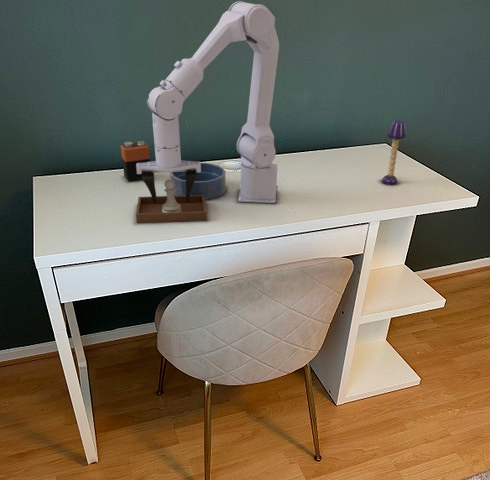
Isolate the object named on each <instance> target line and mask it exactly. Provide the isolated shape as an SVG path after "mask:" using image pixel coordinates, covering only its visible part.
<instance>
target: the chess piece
mask: <svg viewBox="0 0 490 480" xmlns="http://www.w3.org/2000/svg"><path fill="white" fill-rule="evenodd" d="M164 187H165V188H164V190H163V191H164V192H165V193H166V196H167V201H166V203H165V204H164V205H163V206H162V207H163V209H162V211H163V213H168V212H181V210H182V209H181V208H180V207H181V205H180V204H178V203H177V202H176V200H175V196H176V195H175V191H176V189H175V181H174V180H171V178H170V179H166V180H165V182H164Z"/></svg>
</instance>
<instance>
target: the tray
mask: <svg viewBox="0 0 490 480" xmlns="http://www.w3.org/2000/svg"><path fill="white" fill-rule="evenodd" d="M156 197H157V202H156V203H153V199H152V196H151V195H150V196H138V199H137V205H136V212H135V219H136V223H137V224H151V223H153V224H154V223H173V222H174V223H177V222H179V223H180V222H181V223H182V222H201V221H202V222H205V221H207V217H208V216H207V205H206V199H205V196H204V195H190V197H189V202H186V195H183V196H176V195H175V200H176V202H177V203H178V204H180V205H181V207H180V208H181V209H182V210H181V212H168V213H163V211H162V209H163V207H162V206H163V205H164V204H165V203H166V201H167V195H156Z"/></svg>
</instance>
